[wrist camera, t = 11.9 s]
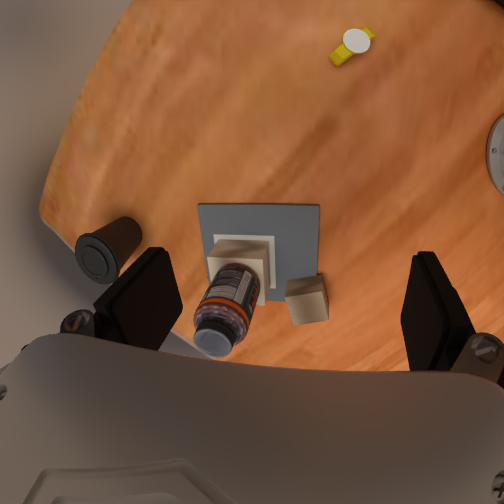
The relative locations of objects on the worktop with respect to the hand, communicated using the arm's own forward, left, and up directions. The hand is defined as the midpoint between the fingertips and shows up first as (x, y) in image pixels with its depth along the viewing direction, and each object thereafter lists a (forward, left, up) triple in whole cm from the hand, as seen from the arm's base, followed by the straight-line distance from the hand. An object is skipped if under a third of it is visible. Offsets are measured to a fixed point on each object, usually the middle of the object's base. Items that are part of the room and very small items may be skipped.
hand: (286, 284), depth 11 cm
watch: (-5, -13, -28) cm, 31 cm away
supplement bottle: (+8, +15, -22) cm, 28 cm away
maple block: (+9, +15, -27) cm, 32 cm away
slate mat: (+7, +14, -27) cm, 31 cm away
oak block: (0, +20, -27) cm, 33 cm away
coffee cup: (+28, +11, -28) cm, 41 cm away
